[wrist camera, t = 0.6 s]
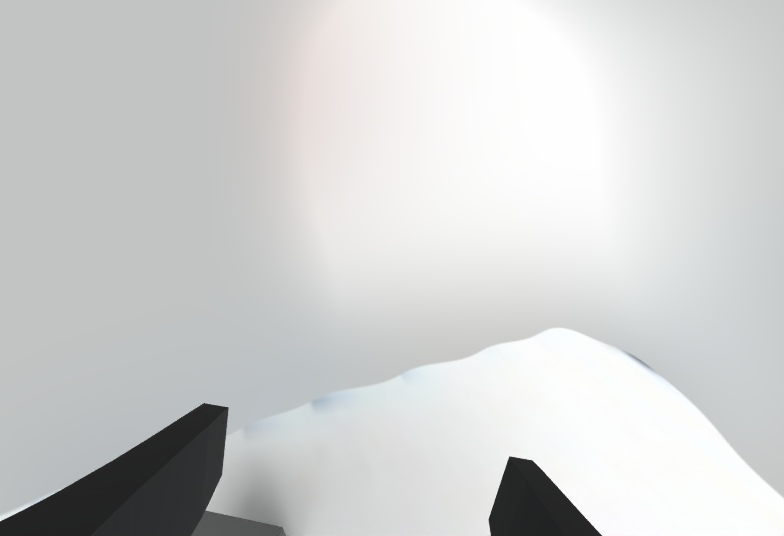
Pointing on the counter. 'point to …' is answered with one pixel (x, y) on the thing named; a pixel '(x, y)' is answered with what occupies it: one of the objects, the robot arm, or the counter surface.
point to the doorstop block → (233, 526)
